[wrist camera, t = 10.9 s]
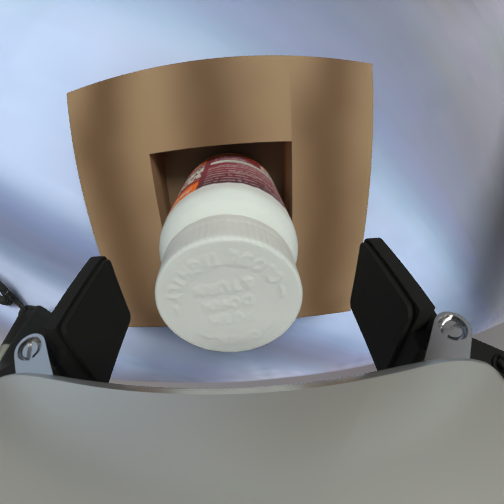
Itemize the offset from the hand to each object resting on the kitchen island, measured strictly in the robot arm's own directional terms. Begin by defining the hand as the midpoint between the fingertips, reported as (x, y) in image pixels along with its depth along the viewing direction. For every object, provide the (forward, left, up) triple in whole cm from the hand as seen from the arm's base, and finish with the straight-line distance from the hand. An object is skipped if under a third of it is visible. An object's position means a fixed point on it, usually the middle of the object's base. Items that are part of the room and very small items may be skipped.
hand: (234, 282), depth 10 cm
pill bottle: (0, 0, -11) cm, 11 cm away
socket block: (+1, 0, -11) cm, 11 cm away
